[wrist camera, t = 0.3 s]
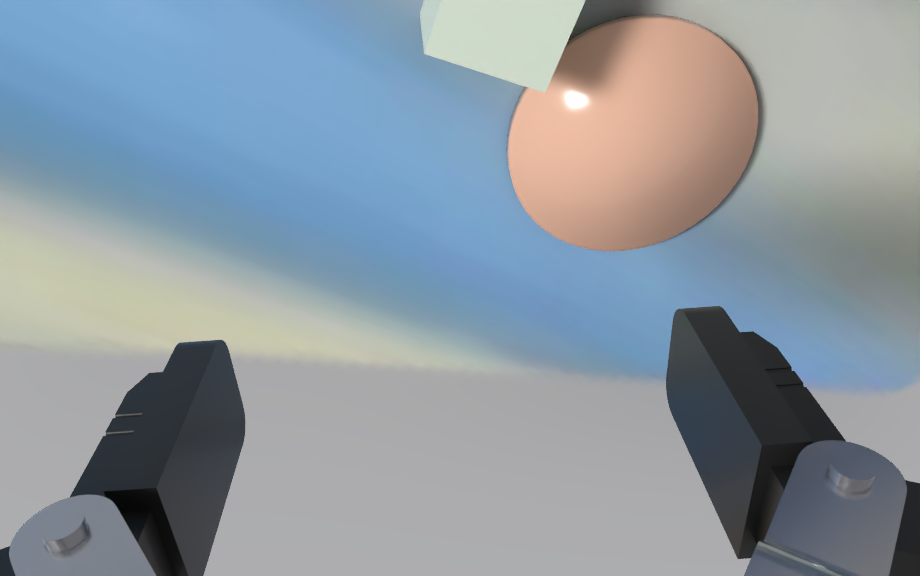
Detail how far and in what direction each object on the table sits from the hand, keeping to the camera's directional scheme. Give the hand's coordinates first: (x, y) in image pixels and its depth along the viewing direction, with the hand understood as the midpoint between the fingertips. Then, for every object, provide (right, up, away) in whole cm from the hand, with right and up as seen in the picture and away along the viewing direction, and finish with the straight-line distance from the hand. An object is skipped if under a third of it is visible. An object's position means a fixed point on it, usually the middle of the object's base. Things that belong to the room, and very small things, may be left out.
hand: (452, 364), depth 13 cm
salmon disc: (+8, +9, +22) cm, 25 cm away
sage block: (+2, +15, +17) cm, 23 cm away
